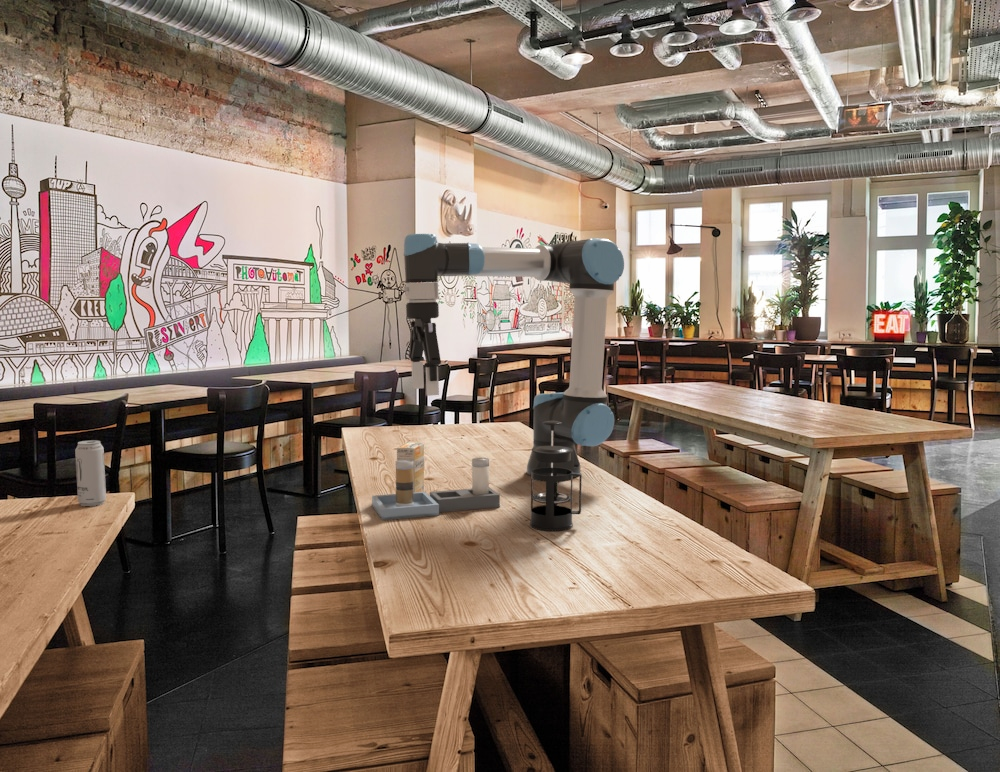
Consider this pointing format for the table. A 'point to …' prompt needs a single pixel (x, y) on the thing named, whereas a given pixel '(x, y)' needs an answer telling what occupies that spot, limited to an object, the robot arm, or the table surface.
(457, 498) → the fuse block
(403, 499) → the fuse
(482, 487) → the cylinder
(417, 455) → the supplement box
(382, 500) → the parts tray
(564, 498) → the french press
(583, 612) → the table surface
